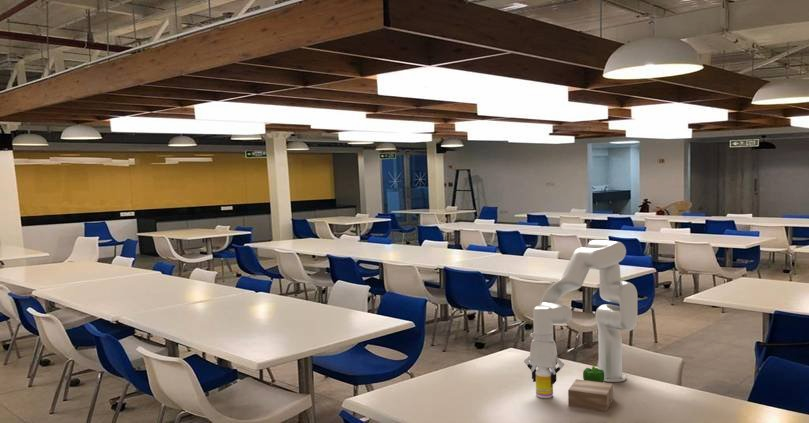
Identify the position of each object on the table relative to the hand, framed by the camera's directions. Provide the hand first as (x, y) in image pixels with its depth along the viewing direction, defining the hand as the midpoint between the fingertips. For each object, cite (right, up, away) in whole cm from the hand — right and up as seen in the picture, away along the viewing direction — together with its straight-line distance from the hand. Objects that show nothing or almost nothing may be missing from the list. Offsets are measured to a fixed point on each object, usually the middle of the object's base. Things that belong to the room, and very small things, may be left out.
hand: (544, 381), depth 245 cm
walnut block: (+16, -6, -8) cm, 19 cm away
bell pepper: (+22, -5, +7) cm, 23 cm away
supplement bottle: (0, -6, 0) cm, 6 cm away
